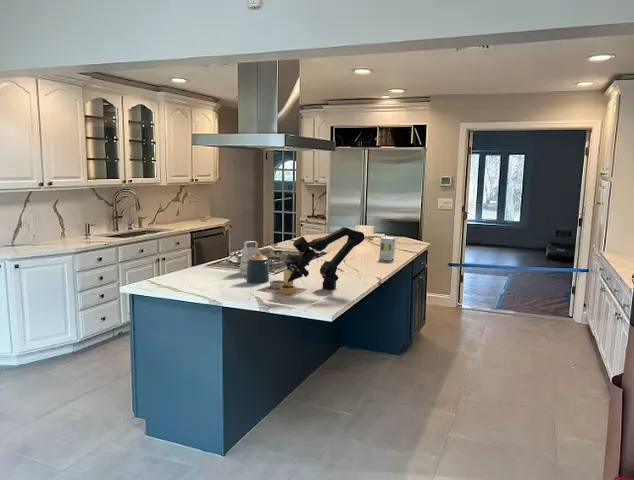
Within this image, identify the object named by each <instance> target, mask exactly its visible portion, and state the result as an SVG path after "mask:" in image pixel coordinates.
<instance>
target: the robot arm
mask: <svg viewBox="0 0 634 480" xmlns="http://www.w3.org/2000/svg"><path fill="white" fill-rule="evenodd" d="M345 236H346V237H347V240H346V242H345V244H343V246H342V247H341V248H340V249H339V250H338V251H337V253H336V254H335V255H334V256H333V257H332V259H331V260H329V261H327V260H325V261H324V262H323V264H322V265H320V269H319V274H320V275H321V277H322V279H323V281H322V289H323V290H327V291H335V290H336V291H338V290H337V289H338V288H337V281H338V279H339V276H338V275H337V274H336V272H337V270H338V266H339V265H340V264H341V263H342V262H343V261H344V259H345V258H346V257H347V256H348V255H349V253H350V252H351V251H352V250H353V249H354V248H355V247H357V246H359V245H360V244H361V243H362V242H363V241H364V240H365V233H364V232H362V231H358V230H354V229H350V228H349V227H346V226H343V227H341V228H340V229H338V230H335V231H334V232H331V233H330V234H328V235H325V236H323V237H318V238H314V239H313V240H311V241H307V240H306V238H305V237H304V236H300V237H299V238H297V239H296V240H295V239H294V241H293V243H292V246H293V247H294V248H295V249H296V251H298V253H300V254H301V255H297V254H290V253H287V256H286V261H285V263H284V264H285V266H286V270H293V274H292V275H291V276H290V278H289V279H288V282H291V281H293V282H294V281H295V280H298V279H300V278H303V277H305V278H307V277H308V276H309V274H310V272H309V271H308V269H306V267H307V266H308V267H309V266H310V262H311V261H312V260H314V258H316V259H319V258H320V257H319V252H322V251H323V250H325V249H326V248H327V247H328V246H330V244H332V243H333V242H336V241H338V240H339V239H341V238H344V237H345ZM316 251H317V252H316ZM283 280H284V277H283Z"/></svg>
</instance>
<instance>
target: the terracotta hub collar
mask: <svg viewBox="0 0 634 480" xmlns="http://www.w3.org/2000/svg"><path fill="white" fill-rule="evenodd" d="M296 288H298V287H297V286H296V285H293V288H284V285H282V286H280V293H281V294H280V295H282V294H295V293H296Z"/></svg>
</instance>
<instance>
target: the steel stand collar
mask: <svg viewBox="0 0 634 480" xmlns="http://www.w3.org/2000/svg"><path fill="white" fill-rule="evenodd" d="M282 285H284V280H276V279H275V280H272V281H271V280H270V281H269V286H270V287H271V288H272V289H280V286H282Z"/></svg>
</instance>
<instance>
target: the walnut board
mask: <svg viewBox="0 0 634 480" xmlns="http://www.w3.org/2000/svg"><path fill="white" fill-rule="evenodd" d="M308 290H309V288H302V287H297V288H296V293H295V294H281V293H280V289H272V288H271V287H270V285H268V286H264V287H262V288H260V289H256V291H257V292H263V293H269V294H277V295H284V296H289V297H294V296H296V295H300V294H302V293H304V292H306V291H308Z"/></svg>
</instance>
